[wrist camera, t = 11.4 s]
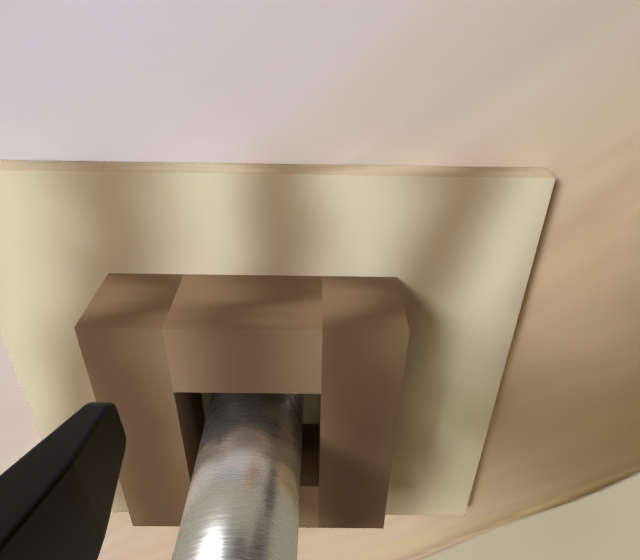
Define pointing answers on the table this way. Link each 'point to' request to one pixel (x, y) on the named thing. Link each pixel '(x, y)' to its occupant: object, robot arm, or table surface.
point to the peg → (245, 480)
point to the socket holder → (273, 315)
